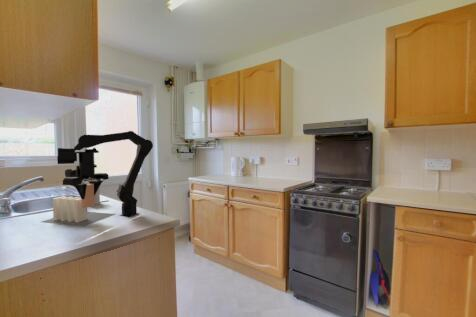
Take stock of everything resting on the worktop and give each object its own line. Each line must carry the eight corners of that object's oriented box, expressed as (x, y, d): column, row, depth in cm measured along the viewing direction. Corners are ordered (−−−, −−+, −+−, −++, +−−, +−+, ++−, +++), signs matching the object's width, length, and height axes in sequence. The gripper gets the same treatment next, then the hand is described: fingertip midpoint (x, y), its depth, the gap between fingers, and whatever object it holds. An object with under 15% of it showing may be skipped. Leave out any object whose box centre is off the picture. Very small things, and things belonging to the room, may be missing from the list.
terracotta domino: (94, 205, 106) (93, 183, 105) (84, 208, 101) (84, 185, 100) (91, 205, 106) (90, 183, 105) (81, 208, 101) (81, 185, 100)
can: (81, 206, 131) (80, 185, 130) (93, 203, 138) (92, 183, 137) (91, 207, 129) (90, 186, 128) (103, 204, 136) (102, 184, 135)
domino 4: (87, 218, 107) (86, 197, 106) (77, 222, 102) (77, 200, 101) (84, 218, 107) (84, 197, 107) (75, 222, 102) (74, 199, 102)
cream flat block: (73, 217, 109) (72, 196, 108) (63, 220, 104) (62, 199, 103) (70, 217, 109) (70, 196, 108) (60, 220, 104) (59, 198, 103)
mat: (116, 215, 114) (116, 214, 114) (84, 227, 97) (84, 226, 97) (76, 212, 120) (76, 210, 120) (40, 223, 102) (40, 221, 102)
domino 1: (66, 217, 109) (66, 196, 109) (56, 220, 105) (55, 198, 104) (64, 216, 110) (63, 196, 109) (53, 220, 105) (52, 198, 104)
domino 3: (80, 218, 108) (79, 197, 107) (70, 221, 103) (69, 199, 102) (77, 217, 108) (77, 196, 107) (67, 221, 103) (66, 199, 103)
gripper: (89, 161, 113) (90, 192, 114) (51, 164, 95) (52, 201, 96) (108, 161, 111) (109, 193, 111) (73, 165, 92) (74, 203, 93)
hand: (88, 197), depth 103 cm, fingers closed on terracotta domino, 5 cm apart
